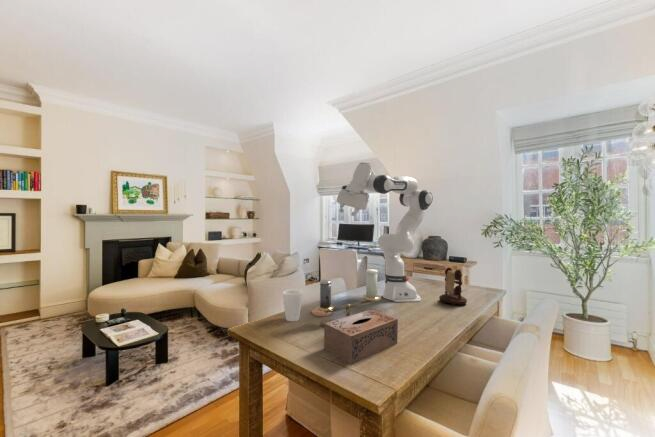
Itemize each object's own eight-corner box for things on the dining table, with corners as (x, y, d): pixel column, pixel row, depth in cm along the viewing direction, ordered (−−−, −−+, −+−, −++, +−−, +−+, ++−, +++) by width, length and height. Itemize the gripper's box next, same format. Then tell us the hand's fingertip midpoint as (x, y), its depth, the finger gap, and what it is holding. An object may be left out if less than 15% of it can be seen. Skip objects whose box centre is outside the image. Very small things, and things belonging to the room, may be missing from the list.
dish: (332, 310, 151) (332, 308, 151) (330, 317, 141) (330, 314, 141) (313, 309, 152) (313, 307, 152) (310, 316, 142) (310, 313, 142)
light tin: (377, 295, 132) (377, 269, 132) (377, 298, 127) (378, 271, 127) (365, 294, 133) (366, 269, 132) (366, 297, 127) (366, 271, 127)
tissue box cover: (370, 332, 124) (370, 309, 124) (397, 344, 113) (397, 319, 113) (324, 349, 108) (324, 323, 108) (350, 365, 97) (351, 336, 97)
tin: (331, 305, 134) (331, 279, 134) (330, 308, 129) (330, 282, 129) (320, 304, 135) (320, 279, 135) (318, 308, 130) (319, 282, 130)
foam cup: (303, 316, 142) (304, 290, 142) (300, 323, 133) (300, 295, 133) (285, 315, 143) (285, 289, 143) (280, 322, 134) (280, 294, 134)
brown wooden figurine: (433, 300, 171) (434, 267, 171) (451, 297, 177) (452, 265, 177) (454, 307, 158) (454, 271, 157) (472, 304, 164) (473, 270, 163)
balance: (379, 323, 133) (379, 294, 133) (380, 330, 126) (381, 299, 125) (317, 320, 137) (318, 291, 136) (315, 326, 129) (315, 296, 128)
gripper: (373, 195, 150) (364, 220, 150) (346, 189, 165) (338, 211, 165) (366, 191, 146) (356, 216, 145) (339, 185, 161) (330, 208, 160)
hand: (346, 214), depth 155 cm, fingers open, 8 cm apart
